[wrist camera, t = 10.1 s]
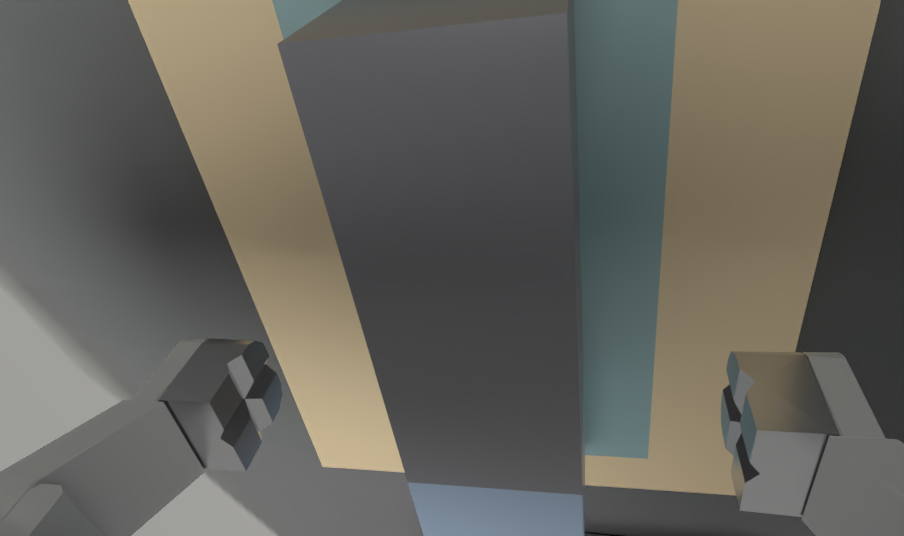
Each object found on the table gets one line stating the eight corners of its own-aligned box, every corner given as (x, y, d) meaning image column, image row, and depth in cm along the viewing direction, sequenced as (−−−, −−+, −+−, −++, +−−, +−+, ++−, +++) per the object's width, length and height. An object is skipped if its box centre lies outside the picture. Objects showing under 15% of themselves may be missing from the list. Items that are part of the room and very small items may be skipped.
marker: (361, -14, 10) (277, 44, 8) (572, -41, 10) (567, 12, 7) (456, 438, 17) (430, 559, 14) (585, 445, 16) (585, 575, 13)
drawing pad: (937, -273, 8) (952, -277, 7) (756, 487, 17) (760, 500, 16) (93, -112, 11) (77, -111, 10) (326, 458, 20) (321, 469, 19)
